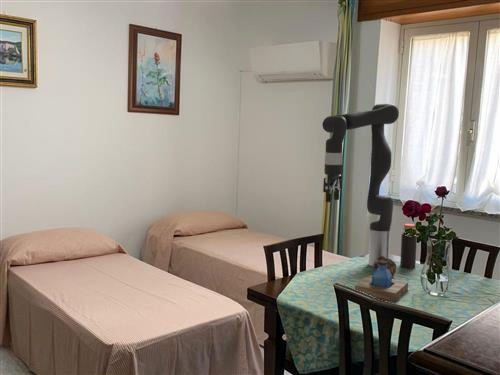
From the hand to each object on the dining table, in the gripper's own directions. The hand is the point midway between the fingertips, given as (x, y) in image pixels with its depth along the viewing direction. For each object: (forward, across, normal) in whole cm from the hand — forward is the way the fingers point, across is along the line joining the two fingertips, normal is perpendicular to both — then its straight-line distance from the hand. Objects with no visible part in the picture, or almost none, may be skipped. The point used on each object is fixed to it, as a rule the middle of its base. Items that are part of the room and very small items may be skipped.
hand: (332, 200), depth 214 cm
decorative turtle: (+33, +13, -20) cm, 41 cm away
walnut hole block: (+33, -9, -26) cm, 43 cm away
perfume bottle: (+33, -9, -26) cm, 43 cm away
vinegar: (+33, +34, -24) cm, 53 cm away
